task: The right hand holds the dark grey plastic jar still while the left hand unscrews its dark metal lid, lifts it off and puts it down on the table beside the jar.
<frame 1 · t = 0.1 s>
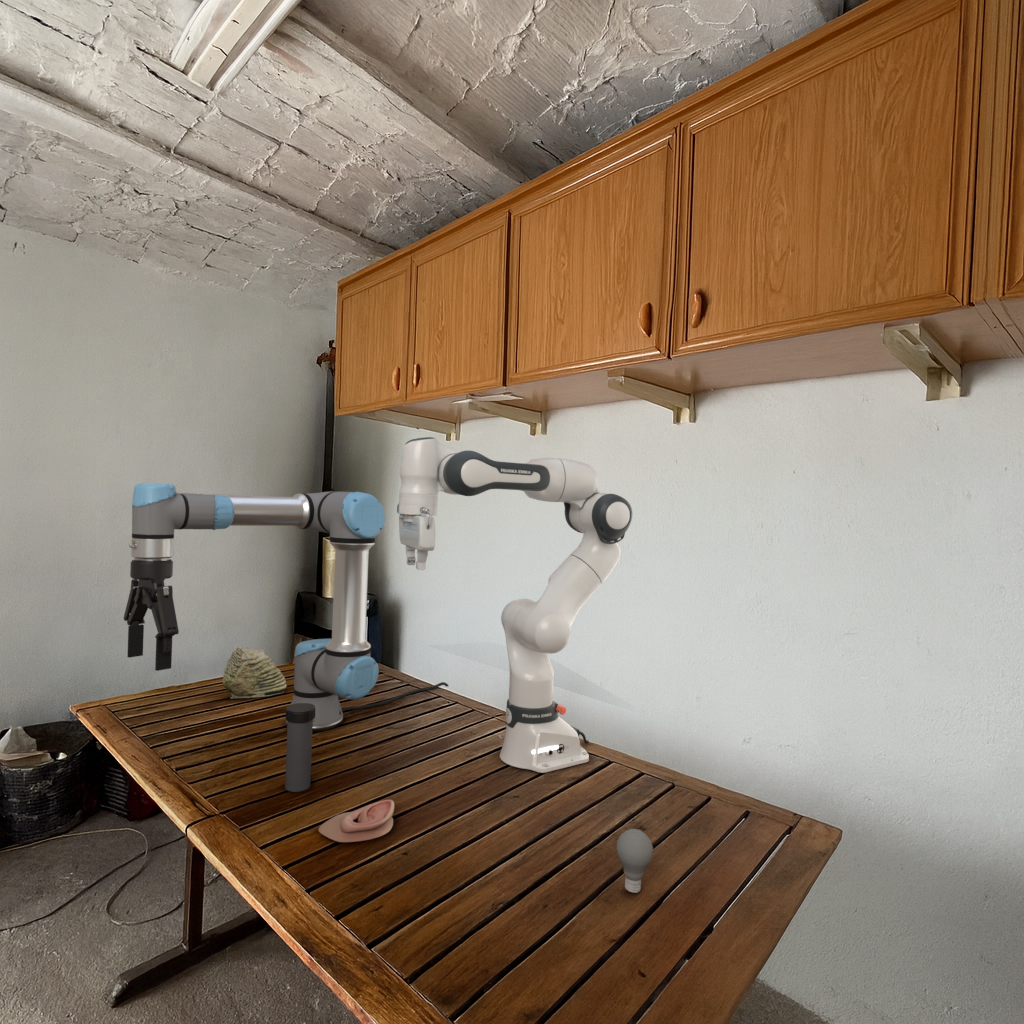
left hand: (148, 662, 129), 28 cm above the table, tool pointing down, fingers open, 13 cm apart
right hand: (415, 567, 146), 48 cm above the table, tool pointing down, fingers open, 8 cm apart
anatomical model: (356, 828, 122), on the table
fossil: (254, 694, 198), on the table
lid: (300, 708, 138), point 17 cm above the table, screwed on, not yet turned
jar: (297, 786, 138), on the table
light bulb: (632, 891, 106), on the table
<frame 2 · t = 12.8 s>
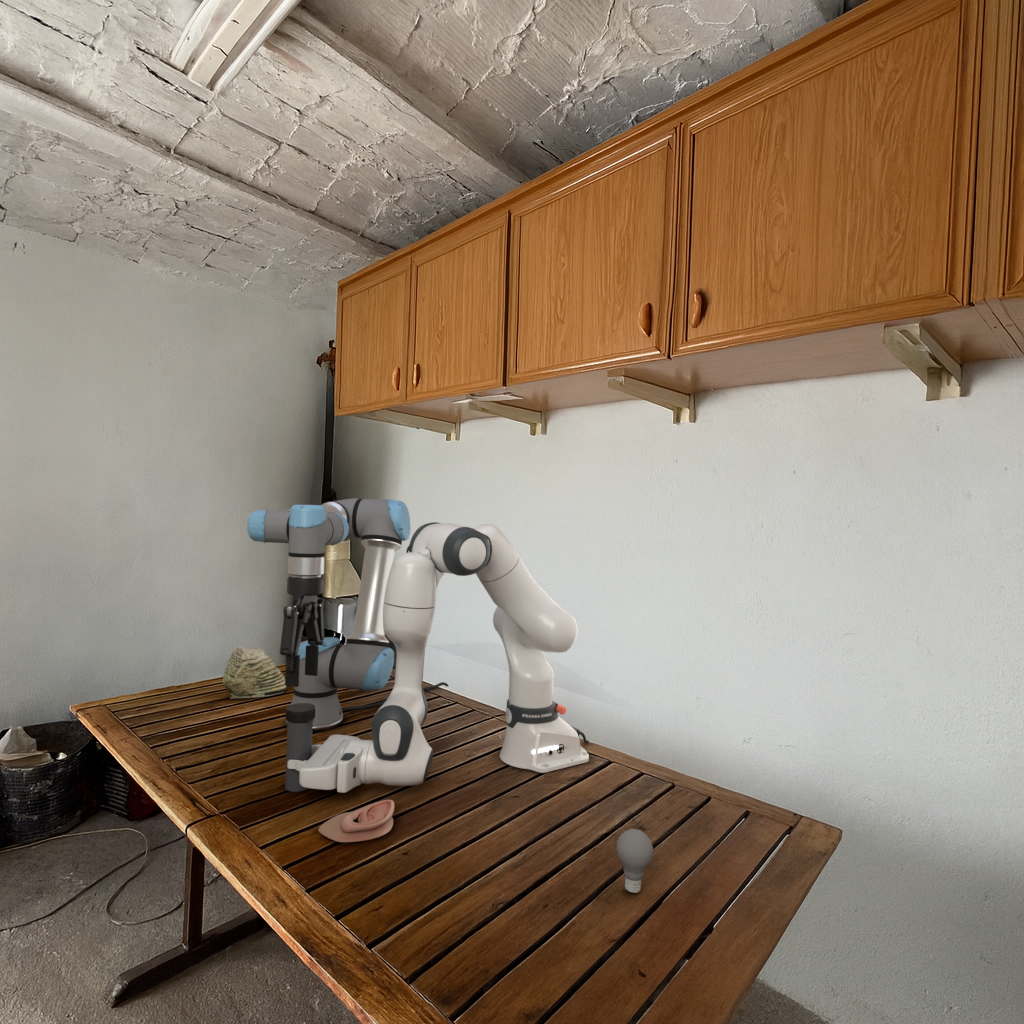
left hand: (301, 680, 138), 23 cm above the table, tool pointing down, fingers open, 8 cm apart
right hand: (294, 756, 138), 6 cm above the table, tool horizontal, fingers closed on jar, 5 cm apart
jar: (297, 786, 138), on the table, touching right hand
everything else where it was.
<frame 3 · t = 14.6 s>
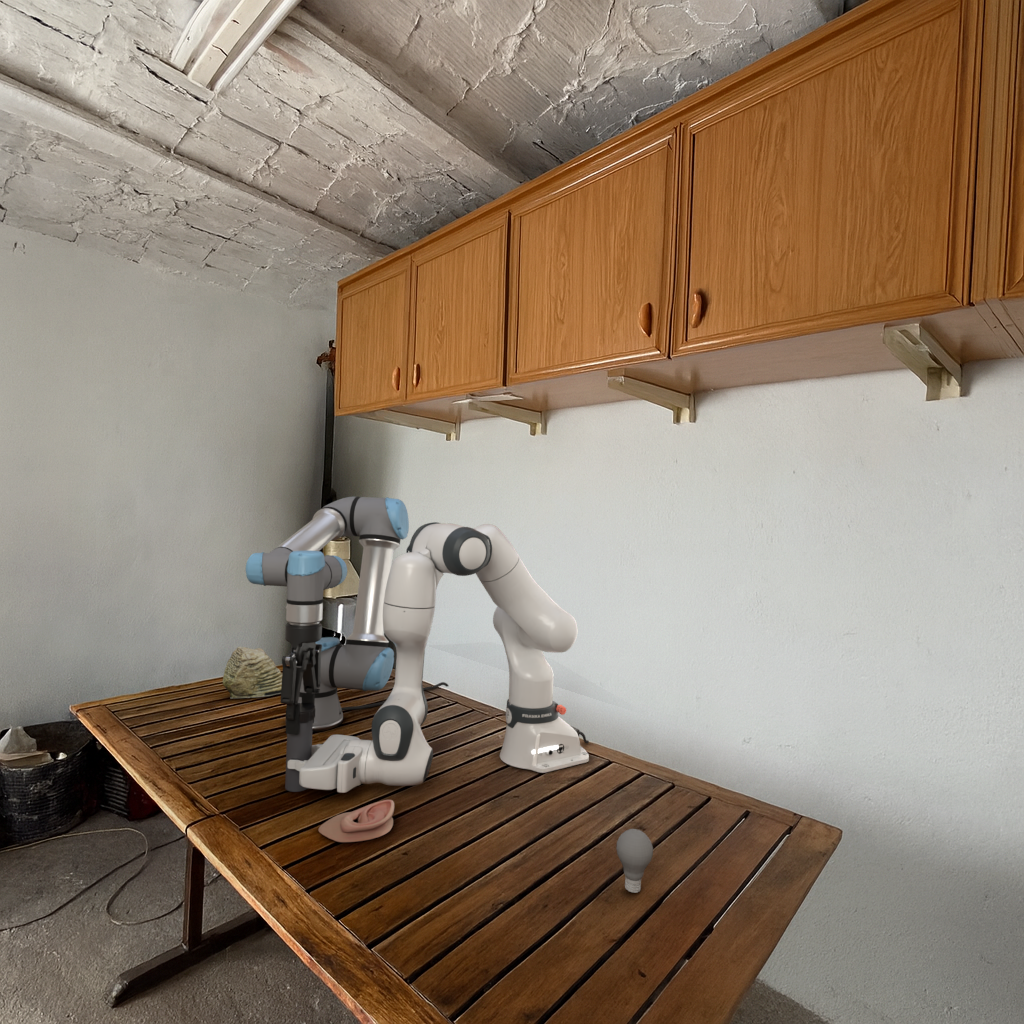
left hand: (300, 727, 138), 13 cm above the table, tool pointing down, fingers closed on lid, 6 cm apart
right hand: (294, 756, 138), 6 cm above the table, tool horizontal, fingers closed on jar, 5 cm apart
lid: (300, 708, 138), point 17 cm above the table, screwed on, not yet turned, touching left hand
jar: (297, 786, 138), on the table, touching right hand
everything else where it was.
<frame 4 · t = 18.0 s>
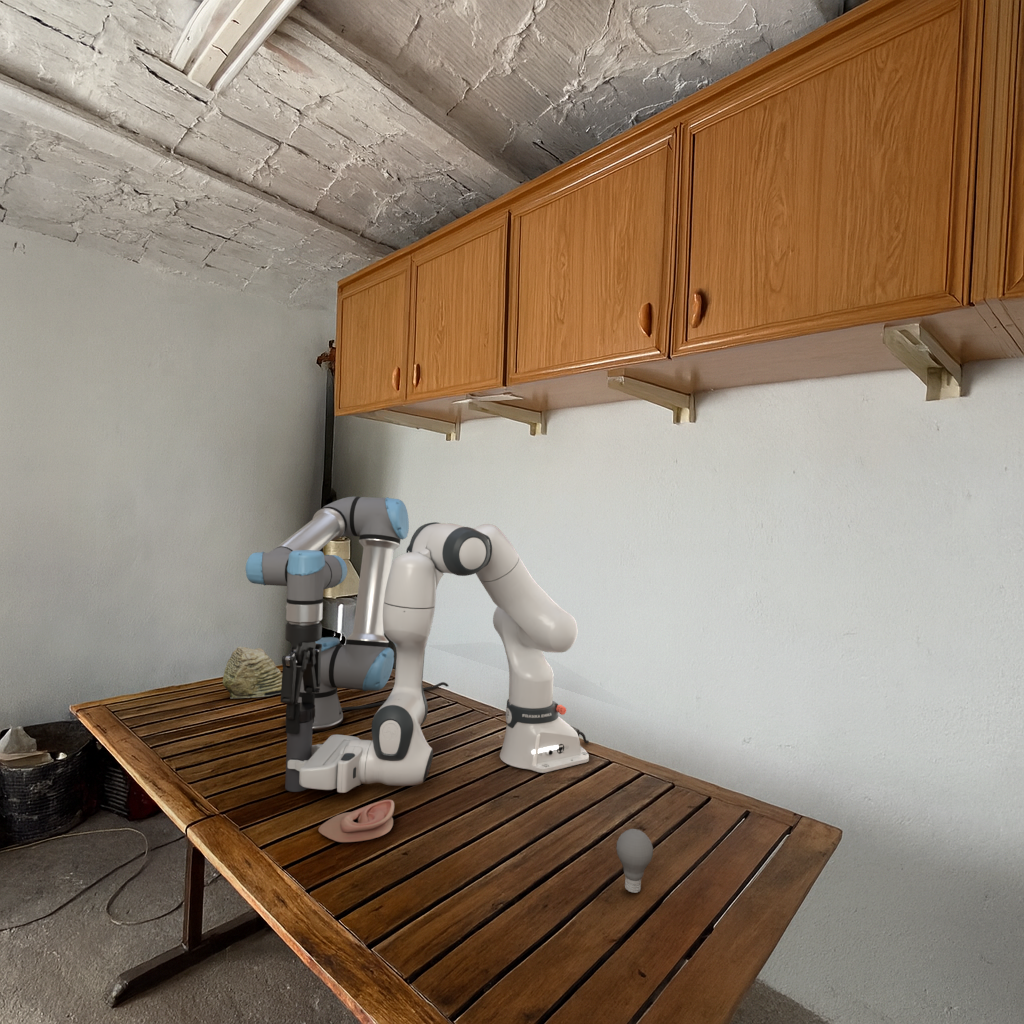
left hand: (300, 727, 138), 13 cm above the table, tool pointing down, fingers closed on lid, 6 cm apart
right hand: (294, 757, 138), 6 cm above the table, tool horizontal, fingers closed on jar, 5 cm apart
lid: (300, 708, 138), point 17 cm above the table, turned 90° so far, risen 0.1 cm, still on its thread, touching left hand
jar: (297, 786, 138), on the table, touching right hand
everything else where it was.
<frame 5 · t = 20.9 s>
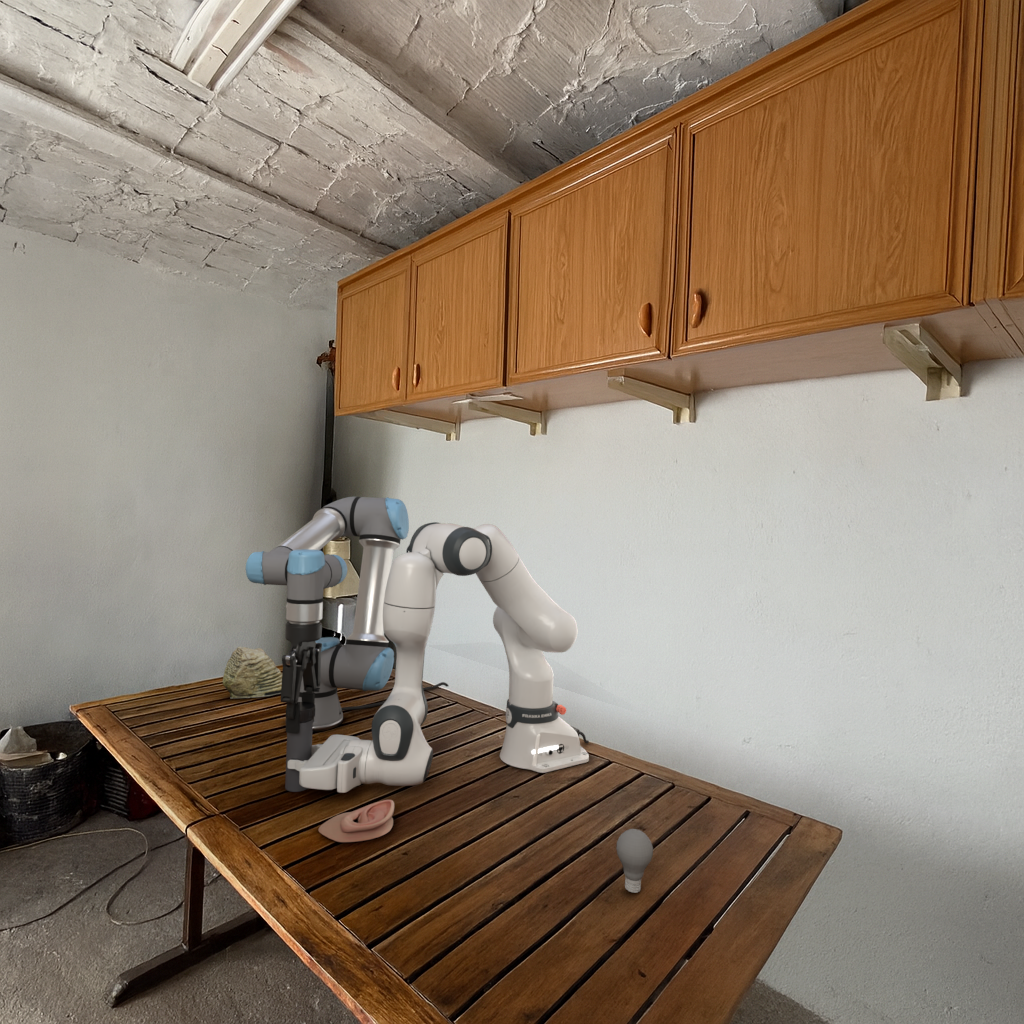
left hand: (300, 726, 138), 13 cm above the table, tool pointing down, fingers closed on lid, 6 cm apart
right hand: (294, 757, 138), 6 cm above the table, tool horizontal, fingers closed on jar, 5 cm apart
lid: (300, 707, 138), point 17 cm above the table, turned 181° so far, risen 0.2 cm, still on its thread, touching left hand
jar: (297, 786, 138), on the table, touching right hand
everything else where it was.
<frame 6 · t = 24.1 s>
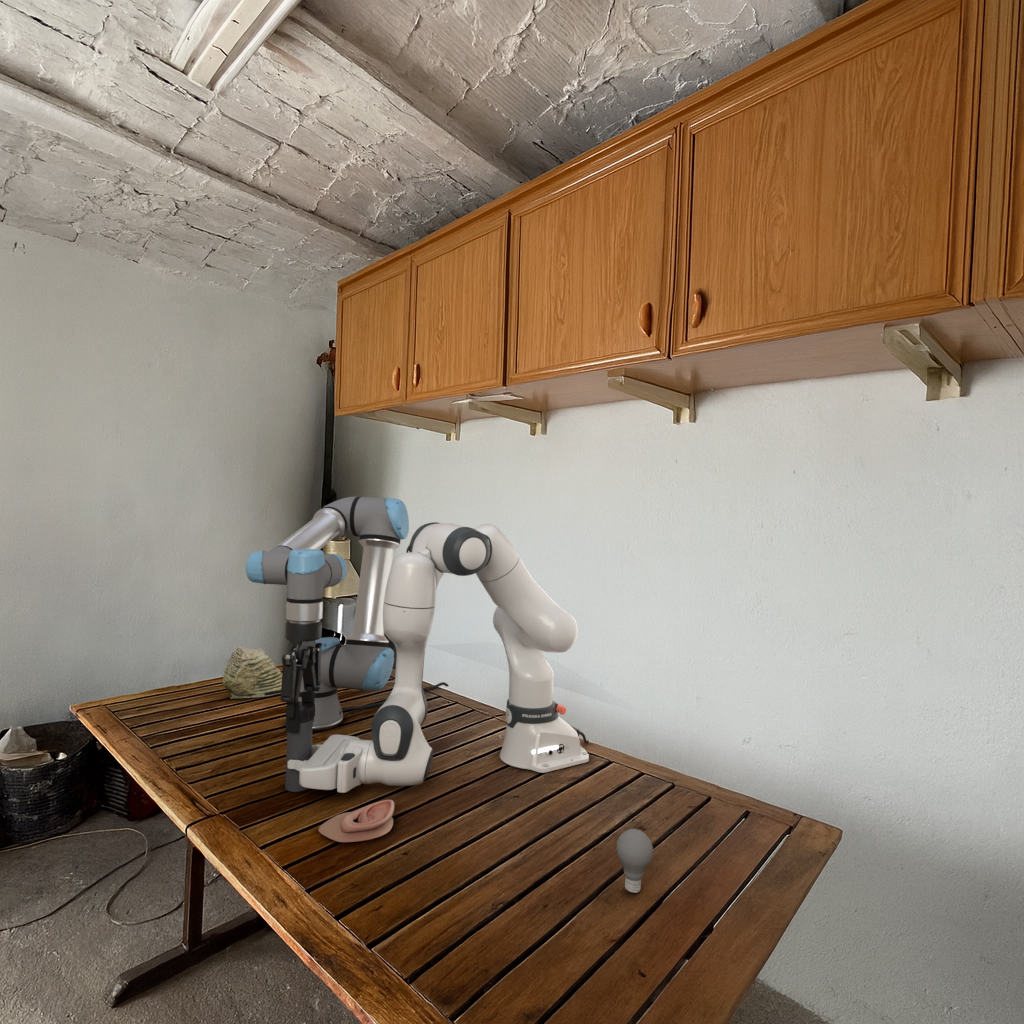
left hand: (300, 726, 138), 13 cm above the table, tool pointing down, fingers closed on lid, 6 cm apart
right hand: (294, 757, 138), 6 cm above the table, tool horizontal, fingers closed on jar, 5 cm apart
lid: (300, 707, 138), point 17 cm above the table, turned 271° so far, risen 0.4 cm, still on its thread, touching left hand
jar: (297, 786, 138), on the table, touching right hand
everything else where it was.
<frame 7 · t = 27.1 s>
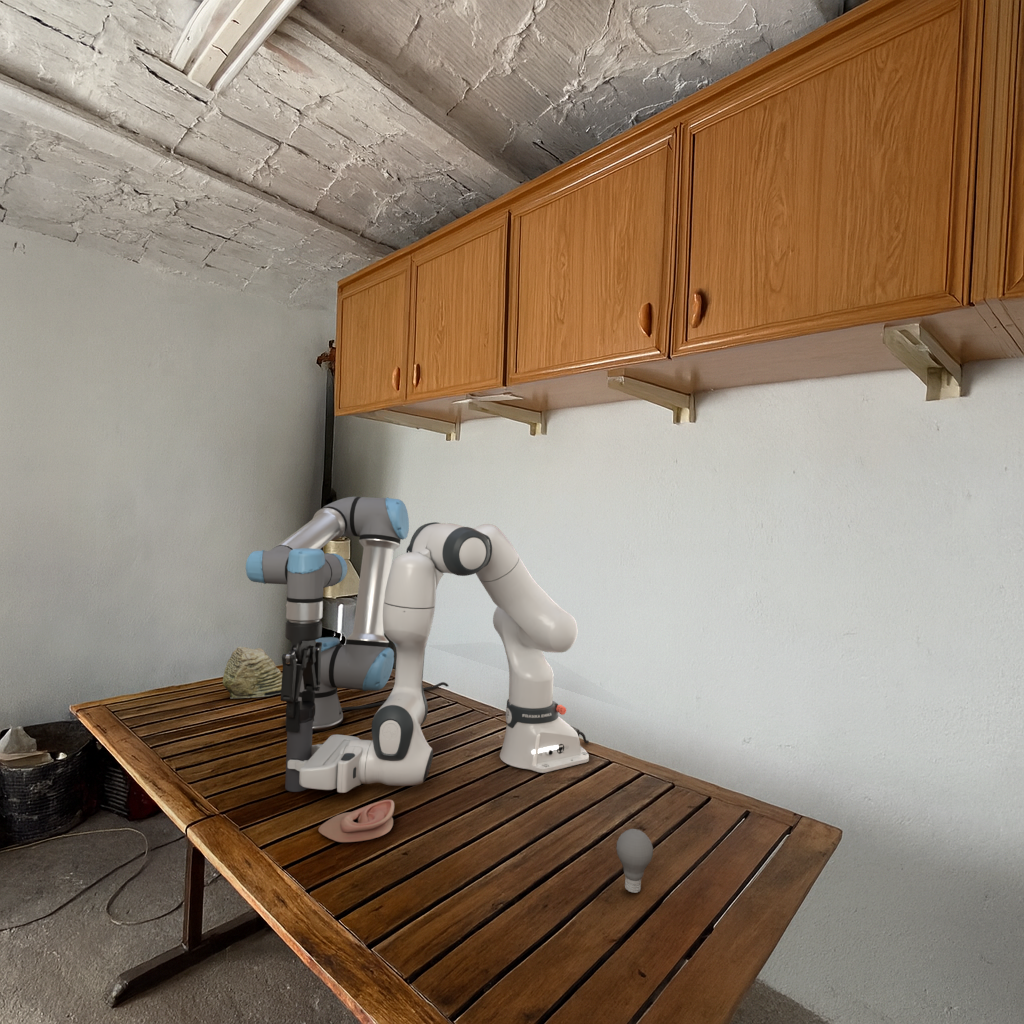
left hand: (300, 725, 138), 13 cm above the table, tool pointing down, fingers closed on lid, 6 cm apart
right hand: (294, 757, 138), 6 cm above the table, tool horizontal, fingers closed on jar, 5 cm apart
lid: (300, 706, 138), point 18 cm above the table, turned 361° so far, risen 0.5 cm, still on its thread, touching left hand
jar: (297, 786, 138), on the table, touching right hand
everything else where it was.
when the left hand's fingers open (0 cm above the table, at t = 36.6 s): lid drops 2 cm, point 2 cm above the table.
when the right hand's fingers open (6 cm above the table, at t = 37.3 s): jar stays where it is, on the table.
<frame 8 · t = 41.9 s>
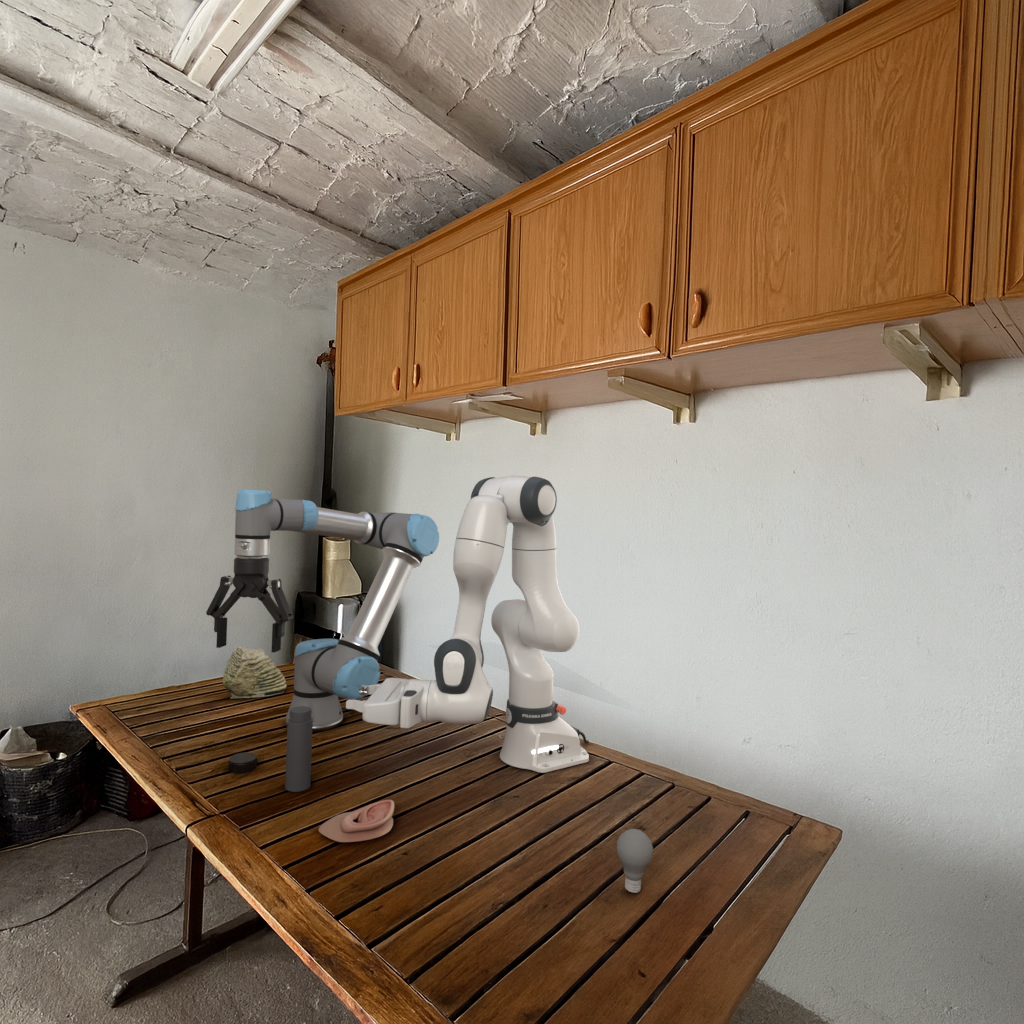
left hand: (248, 648, 146), 28 cm above the table, tool pointing down, fingers open, 13 cm apart
right hand: (353, 696, 137), 20 cm above the table, tool horizontal, fingers open, 8 cm apart
lid: (243, 759, 146), point 2 cm above the table, off its thread
jar: (297, 786, 138), on the table
everything else where it was.
at the end: lid came off its thread; lid point 2.0 cm above the table; the left hand is holding nothing; the right hand is holding nothing; jar tilted 0°; jar moved 0.0 cm from its start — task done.
